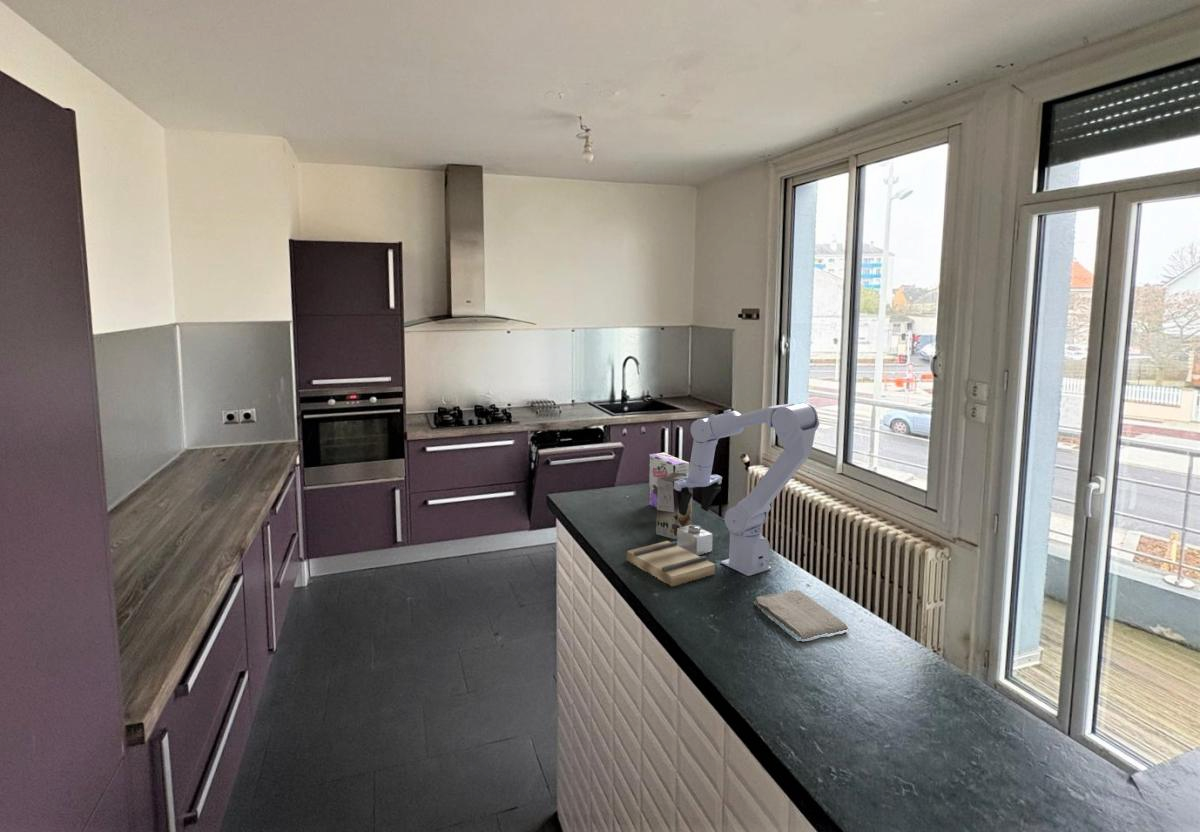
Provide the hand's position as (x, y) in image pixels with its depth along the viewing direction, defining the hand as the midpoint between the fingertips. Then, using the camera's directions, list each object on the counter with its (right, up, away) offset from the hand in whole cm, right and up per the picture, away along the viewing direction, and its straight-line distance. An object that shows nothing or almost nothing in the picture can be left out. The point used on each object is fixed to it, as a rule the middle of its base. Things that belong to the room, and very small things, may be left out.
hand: (693, 511), depth 179 cm
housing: (0, -10, +1) cm, 10 cm away
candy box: (-4, -4, +32) cm, 32 cm away
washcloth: (+17, -18, -36) cm, 44 cm away
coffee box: (-4, -8, +13) cm, 15 cm away
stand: (-7, -12, -11) cm, 18 cm away
